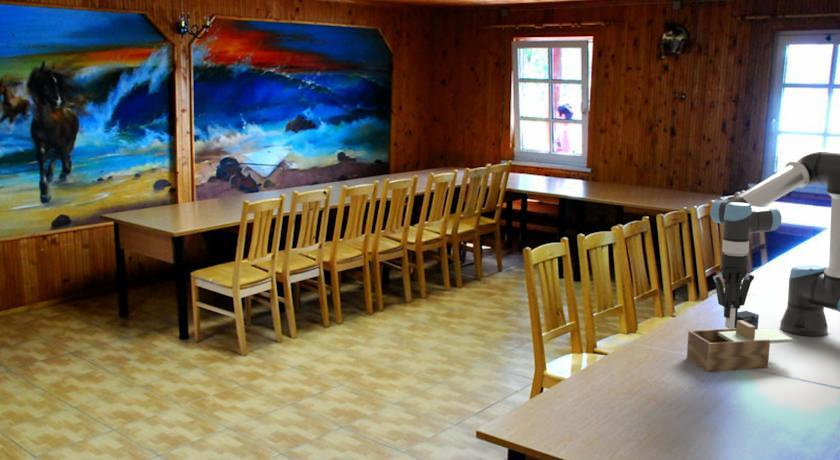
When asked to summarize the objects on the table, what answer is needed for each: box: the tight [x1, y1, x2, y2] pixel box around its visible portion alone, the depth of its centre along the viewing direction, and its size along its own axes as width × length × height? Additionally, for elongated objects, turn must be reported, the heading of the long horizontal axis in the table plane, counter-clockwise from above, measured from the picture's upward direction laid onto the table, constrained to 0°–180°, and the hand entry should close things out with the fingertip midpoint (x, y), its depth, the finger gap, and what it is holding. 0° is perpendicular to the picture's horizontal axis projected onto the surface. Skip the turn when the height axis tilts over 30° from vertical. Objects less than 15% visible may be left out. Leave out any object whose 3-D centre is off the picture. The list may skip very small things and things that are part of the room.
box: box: [734, 310, 760, 329], centre depth 271 cm, size 8×6×11 cm
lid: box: [718, 320, 794, 344], centre depth 254 cm, size 19×11×5 cm, turn 100°
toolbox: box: [686, 328, 771, 373], centre depth 253 cm, size 20×13×9 cm, turn 100°
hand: (729, 327), depth 252 cm, fingers closed
